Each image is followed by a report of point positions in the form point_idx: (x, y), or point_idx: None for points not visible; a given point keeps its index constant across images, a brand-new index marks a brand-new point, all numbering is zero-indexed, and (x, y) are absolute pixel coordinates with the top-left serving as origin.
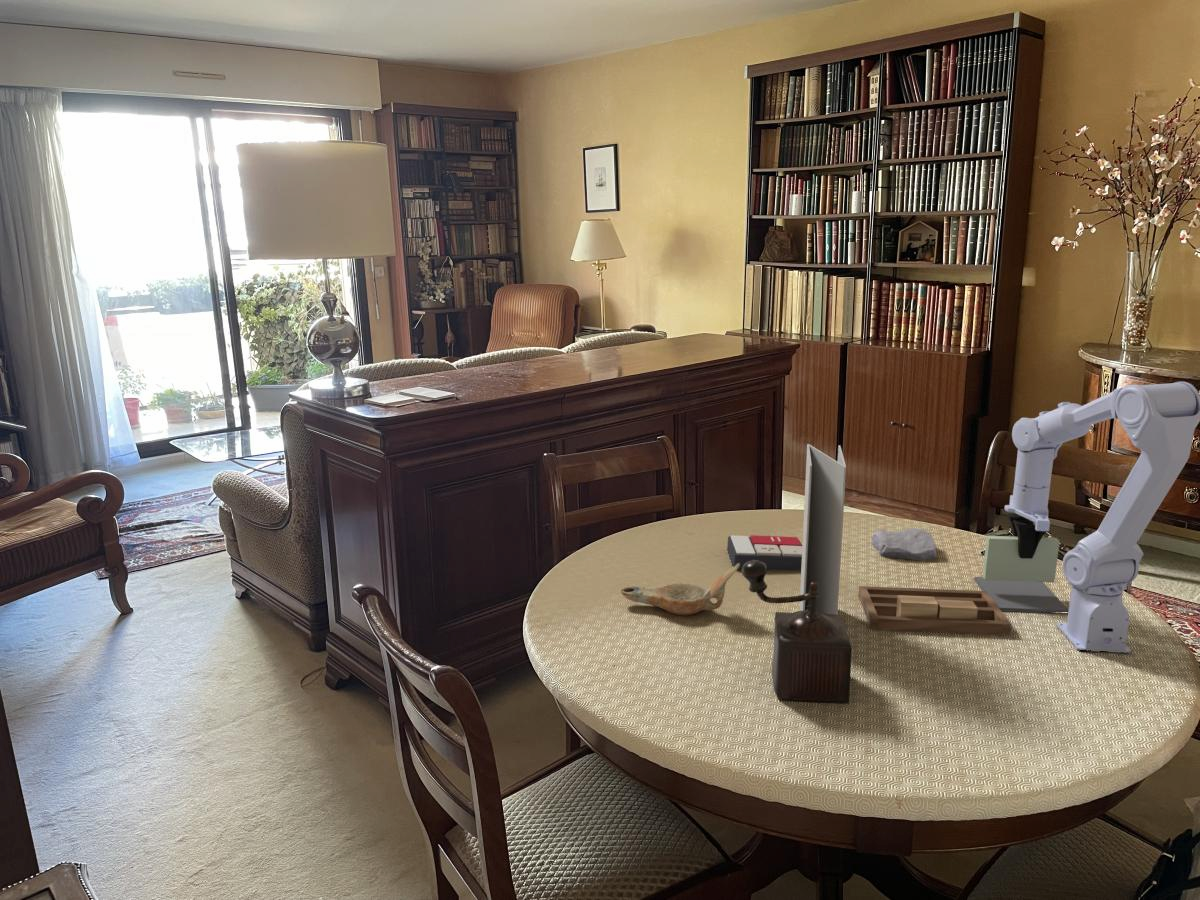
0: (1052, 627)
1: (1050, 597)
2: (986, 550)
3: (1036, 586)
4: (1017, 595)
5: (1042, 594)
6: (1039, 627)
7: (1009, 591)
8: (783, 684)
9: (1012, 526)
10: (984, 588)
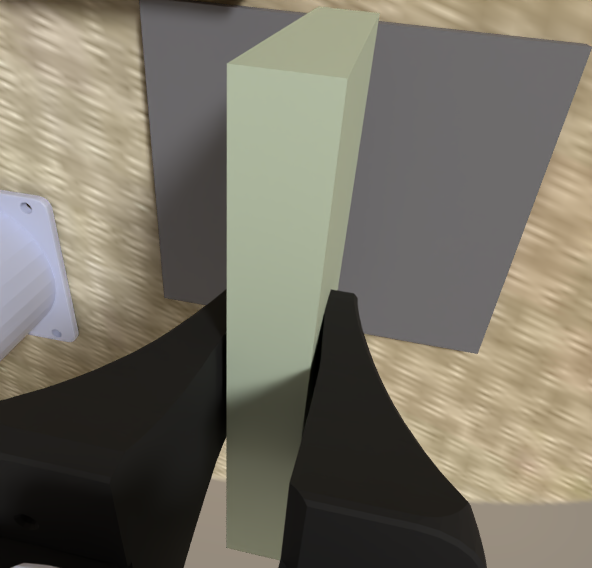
0: (33, 175)
1: None
2: (316, 40)
3: (399, 302)
4: None
5: None
6: (16, 124)
7: None
8: None
9: (322, 423)
10: (396, 35)
